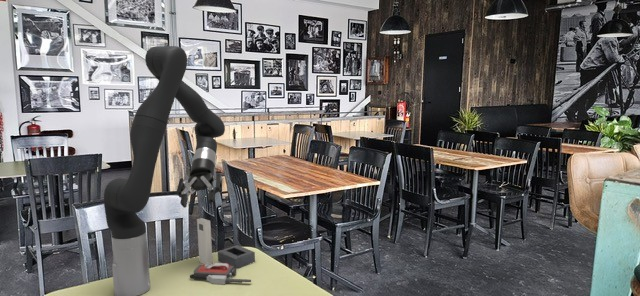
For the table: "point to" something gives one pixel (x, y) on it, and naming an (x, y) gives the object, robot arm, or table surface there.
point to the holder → (236, 256)
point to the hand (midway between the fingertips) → (196, 204)
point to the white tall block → (204, 241)
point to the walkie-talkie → (216, 273)
